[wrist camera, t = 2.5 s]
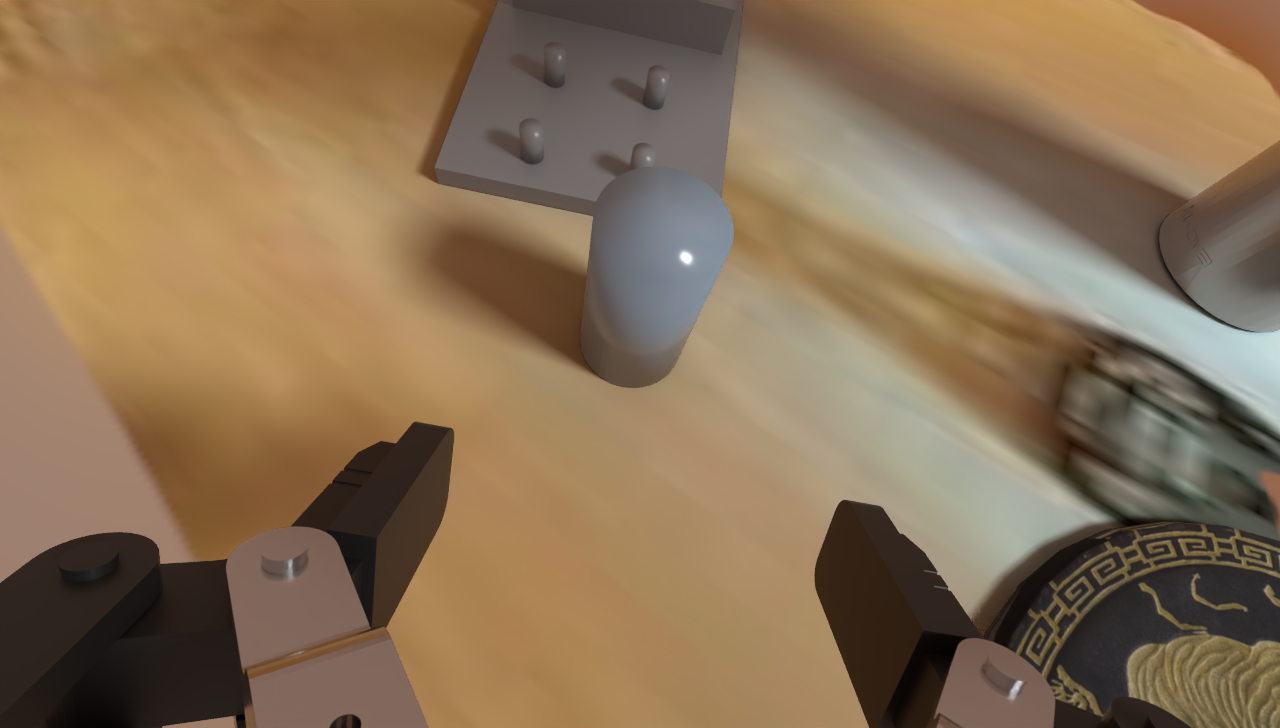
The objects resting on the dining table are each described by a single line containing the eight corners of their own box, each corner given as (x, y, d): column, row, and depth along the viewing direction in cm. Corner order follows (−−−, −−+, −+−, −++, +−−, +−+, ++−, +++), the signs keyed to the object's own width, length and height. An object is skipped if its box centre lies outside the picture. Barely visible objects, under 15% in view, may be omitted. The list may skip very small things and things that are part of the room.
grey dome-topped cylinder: (685, 307, 31) (738, 182, 22) (673, 396, 29) (727, 296, 20) (589, 288, 30) (606, 154, 22) (571, 377, 28) (581, 267, 20)
